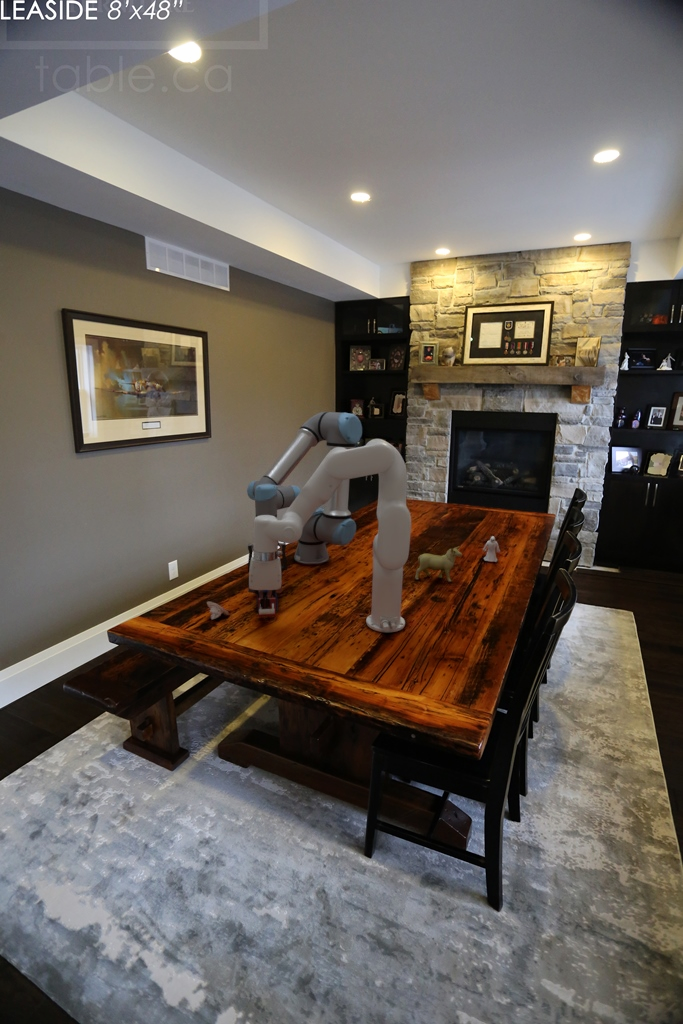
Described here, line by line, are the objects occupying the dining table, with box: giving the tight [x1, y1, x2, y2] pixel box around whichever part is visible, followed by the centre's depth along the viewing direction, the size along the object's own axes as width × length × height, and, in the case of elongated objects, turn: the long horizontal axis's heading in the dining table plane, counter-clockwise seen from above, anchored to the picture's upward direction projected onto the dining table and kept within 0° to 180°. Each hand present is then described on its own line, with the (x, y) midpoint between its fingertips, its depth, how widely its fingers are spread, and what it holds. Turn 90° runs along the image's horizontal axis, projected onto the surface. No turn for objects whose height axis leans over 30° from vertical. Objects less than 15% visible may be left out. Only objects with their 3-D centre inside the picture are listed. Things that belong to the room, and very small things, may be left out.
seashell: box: [206, 600, 230, 620], centre depth 164 cm, size 8×5×8 cm
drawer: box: [258, 592, 277, 618], centre depth 169 cm, size 22×6×6 cm, turn 7°
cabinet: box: [256, 590, 279, 613], centre depth 177 cm, size 18×7×8 cm, turn 7°
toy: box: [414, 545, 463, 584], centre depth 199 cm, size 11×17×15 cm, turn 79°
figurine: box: [482, 535, 501, 563], centre depth 223 cm, size 8×8×12 cm
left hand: (267, 588), depth 183 cm, fingers closed on cabinet, 7 cm apart
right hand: (265, 608), depth 161 cm, fingers closed
